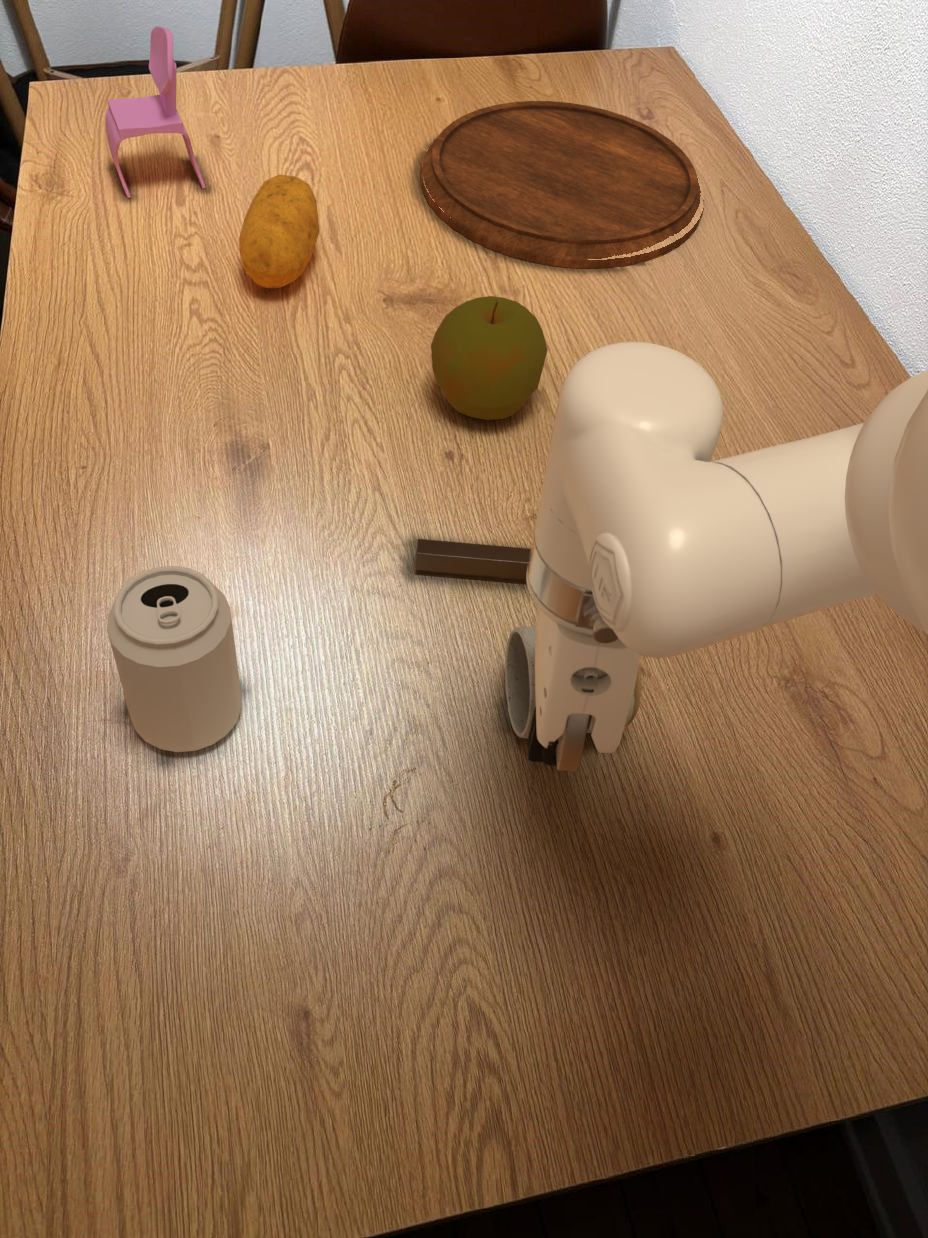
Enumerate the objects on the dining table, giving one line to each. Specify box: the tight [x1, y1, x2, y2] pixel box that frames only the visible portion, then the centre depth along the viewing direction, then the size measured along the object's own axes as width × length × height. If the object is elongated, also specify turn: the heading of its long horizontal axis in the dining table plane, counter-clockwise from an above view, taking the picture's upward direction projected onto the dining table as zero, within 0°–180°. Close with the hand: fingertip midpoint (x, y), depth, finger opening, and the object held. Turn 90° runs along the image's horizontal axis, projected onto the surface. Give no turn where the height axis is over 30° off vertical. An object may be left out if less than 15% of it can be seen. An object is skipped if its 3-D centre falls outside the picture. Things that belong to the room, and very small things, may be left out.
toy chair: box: [105, 26, 207, 199], centre depth 114 cm, size 8×9×15 cm
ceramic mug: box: [504, 625, 642, 739], centre depth 77 cm, size 11×8×8 cm
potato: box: [238, 174, 320, 289], centre depth 108 cm, size 7×14×7 cm, turn 174°
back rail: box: [414, 538, 531, 585], centre depth 87 cm, size 3×20×2 cm, turn 87°
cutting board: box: [419, 100, 705, 269], centre depth 124 cm, size 32×32×2 cm
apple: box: [430, 295, 548, 421], centre depth 96 cm, size 10×10×11 cm
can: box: [106, 565, 243, 753], centre depth 72 cm, size 8×8×12 cm
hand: (551, 752), depth 73 cm, fingers closed
